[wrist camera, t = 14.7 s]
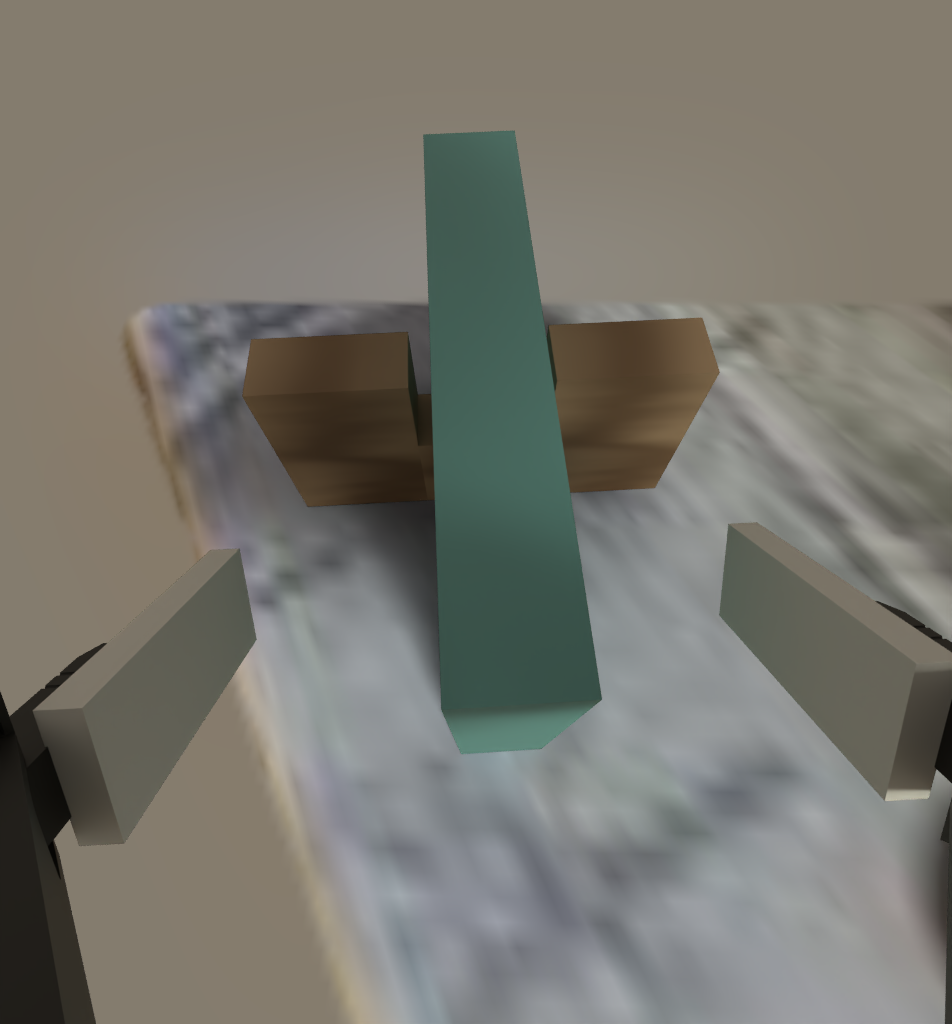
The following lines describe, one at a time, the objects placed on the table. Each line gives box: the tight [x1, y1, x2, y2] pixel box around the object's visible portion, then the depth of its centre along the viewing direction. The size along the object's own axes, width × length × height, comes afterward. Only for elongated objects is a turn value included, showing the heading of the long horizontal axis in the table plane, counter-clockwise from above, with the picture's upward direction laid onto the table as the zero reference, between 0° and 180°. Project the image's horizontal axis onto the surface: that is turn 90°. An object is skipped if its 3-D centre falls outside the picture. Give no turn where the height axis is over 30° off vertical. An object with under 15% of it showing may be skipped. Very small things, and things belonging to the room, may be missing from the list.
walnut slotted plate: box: [242, 318, 720, 507], centre depth 23 cm, size 16×2×8 cm, turn 93°
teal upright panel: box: [423, 131, 602, 754], centre depth 20 cm, size 18×3×12 cm, turn 4°
